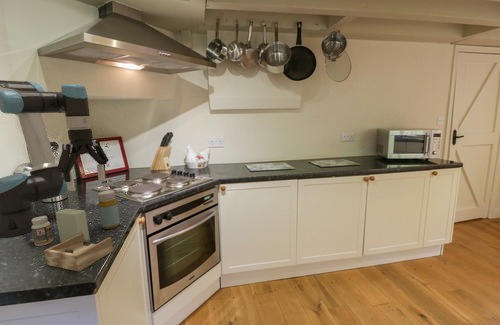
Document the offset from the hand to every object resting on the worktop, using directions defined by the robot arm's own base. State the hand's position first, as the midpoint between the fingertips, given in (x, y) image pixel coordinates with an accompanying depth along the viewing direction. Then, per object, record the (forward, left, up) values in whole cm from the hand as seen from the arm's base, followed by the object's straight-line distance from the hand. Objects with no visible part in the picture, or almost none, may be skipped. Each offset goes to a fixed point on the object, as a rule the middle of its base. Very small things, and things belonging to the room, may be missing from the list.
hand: (87, 185), depth 103 cm
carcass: (+9, -14, -21) cm, 27 cm away
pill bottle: (-15, -9, -21) cm, 28 cm away
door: (-4, -5, -21) cm, 22 cm away
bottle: (-2, +10, -21) cm, 23 cm away
